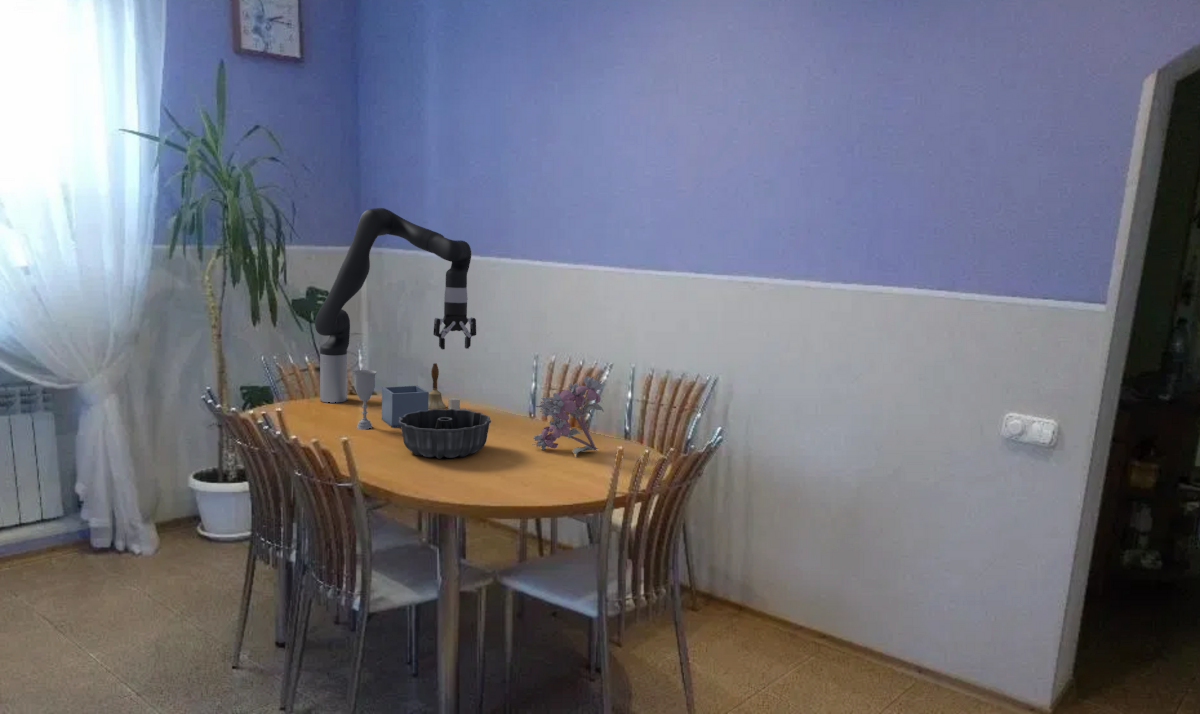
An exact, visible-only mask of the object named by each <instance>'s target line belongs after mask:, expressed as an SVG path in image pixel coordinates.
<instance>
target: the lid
mask: <svg viewBox="0 0 1200 714" xmlns="http://www.w3.org/2000/svg"><path fill="white" fill-rule="evenodd" d="M447 404H448V405H447V406H448V407H447V408H448V409H456V410H468V409H467V408H463V407H462V408H460V407H461V399H460V398H458V397H451V398H450V397H449V398H448V403H447Z"/></svg>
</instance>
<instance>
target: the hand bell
mask: <svg viewBox="0 0 1200 714" xmlns="http://www.w3.org/2000/svg"><path fill="white" fill-rule="evenodd" d="M439 370H440V369H439V366H438V364H437V363H432V367H431V371H430V372H431V379H432V390H431V391H428V392H429V402H428V410H433V409H446V408H447V405H446V404H445V403H444V400H443V397H442V392H441V391H440V390H438V379H439V372H440V371H439Z"/></svg>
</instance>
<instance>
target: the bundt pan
mask: <svg viewBox="0 0 1200 714" xmlns="http://www.w3.org/2000/svg"><path fill="white" fill-rule="evenodd" d="M490 417H491V416H489V415H487V414H484V413H483V412H476V411H474V410H469V409H467V410H456V409H446V408H444V409H428V410H427V411H418V412H413V413H408V414H405V415H404V416H403V417H399V424H400V425H401V427H400V428H401V434H402V440H403V444H404V446H405V447H406V448H407V450H409V451H410V452H412V453H413V455H416V456H418V457H422V455H423V457H425V458H434V457H436V458H437V459H438V460H441V459H443V458H444V457H445V458H448V459H453V458H456V457H460V458H465V457H467V456H468V455H472V454H473V455H474V454H475V453H477V452H478V451H480V450H482V449H483V448H484V447H485V445H486V443H487V439H488V434H489V428H490V424H491V422H492V420H491V418H490Z"/></svg>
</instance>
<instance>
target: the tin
mask: <svg viewBox="0 0 1200 714" xmlns="http://www.w3.org/2000/svg"><path fill="white" fill-rule="evenodd" d="M429 392H430V391H427V389H424V388H423V387H420V386H419V385H403V386H402V385H400V386H383V387H382V386H381V421H383V422H384V423H385V424H386V425H388V426H389V427H390V426H391V427H390V428H392V427H394V428H401V425H400V424H399V417H403V416H404V415H405V414H408V413H413V412H418V411H427V410H429V409H428V402H429Z"/></svg>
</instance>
